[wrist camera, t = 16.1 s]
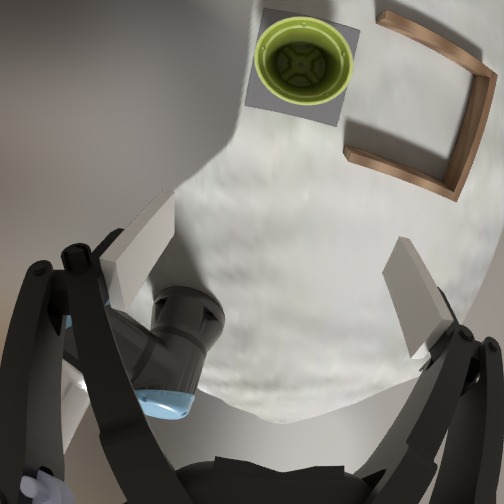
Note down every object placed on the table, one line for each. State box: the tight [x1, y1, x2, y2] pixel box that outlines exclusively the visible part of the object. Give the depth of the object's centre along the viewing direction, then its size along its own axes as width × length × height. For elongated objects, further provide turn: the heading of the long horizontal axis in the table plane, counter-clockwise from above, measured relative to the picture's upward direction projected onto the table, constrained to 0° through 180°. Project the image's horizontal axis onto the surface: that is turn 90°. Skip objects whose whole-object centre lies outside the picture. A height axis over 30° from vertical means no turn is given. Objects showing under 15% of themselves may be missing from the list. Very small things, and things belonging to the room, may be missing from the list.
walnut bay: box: [343, 10, 498, 202], centre depth 26 cm, size 17×20×4 cm
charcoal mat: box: [245, 8, 360, 127], centre depth 28 cm, size 12×14×1 cm
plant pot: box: [254, 17, 353, 105], centre depth 25 cm, size 9×9×9 cm
